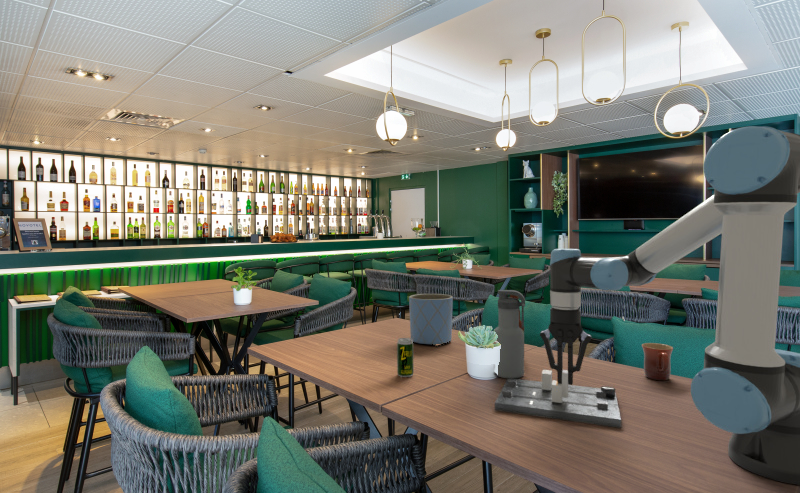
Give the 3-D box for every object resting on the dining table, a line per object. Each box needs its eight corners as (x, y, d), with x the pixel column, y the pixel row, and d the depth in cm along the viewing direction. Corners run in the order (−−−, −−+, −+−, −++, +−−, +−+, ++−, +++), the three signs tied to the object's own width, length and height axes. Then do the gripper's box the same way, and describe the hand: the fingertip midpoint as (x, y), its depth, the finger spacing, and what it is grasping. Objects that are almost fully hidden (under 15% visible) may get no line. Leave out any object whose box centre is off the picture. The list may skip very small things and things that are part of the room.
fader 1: (551, 390, 125) (551, 374, 125) (541, 389, 126) (541, 373, 126) (551, 385, 129) (551, 370, 129) (542, 384, 130) (542, 369, 130)
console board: (621, 427, 106) (621, 411, 106) (494, 410, 117) (494, 395, 117) (614, 396, 126) (614, 383, 126) (507, 384, 138) (507, 372, 138)
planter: (460, 340, 198) (459, 295, 197) (440, 349, 181) (440, 300, 181) (422, 335, 208) (422, 292, 207) (401, 343, 192) (400, 297, 191)
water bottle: (525, 371, 151) (525, 289, 150) (525, 380, 141) (525, 292, 141) (494, 369, 153) (494, 288, 153) (492, 378, 144) (492, 292, 143)
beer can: (395, 373, 149) (395, 338, 149) (410, 372, 151) (410, 337, 151) (400, 378, 144) (399, 342, 144) (415, 377, 146) (415, 340, 145)
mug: (637, 373, 148) (638, 342, 148) (666, 374, 146) (666, 343, 146) (650, 384, 136) (650, 351, 136) (682, 386, 134) (682, 352, 134)
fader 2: (561, 402, 116) (561, 385, 116) (551, 401, 117) (551, 384, 116) (562, 397, 119) (562, 380, 119) (552, 396, 120) (552, 379, 120)
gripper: (592, 306, 118) (591, 394, 118) (540, 303, 123) (540, 388, 123) (592, 311, 111) (592, 404, 111) (538, 308, 116) (538, 397, 116)
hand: (565, 395), depth 117 cm, fingers closed
